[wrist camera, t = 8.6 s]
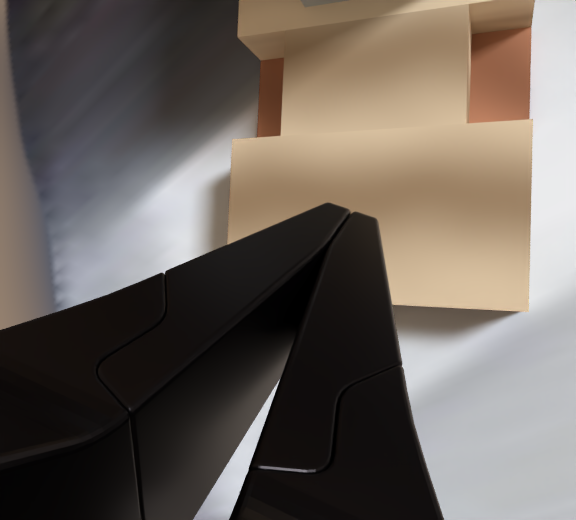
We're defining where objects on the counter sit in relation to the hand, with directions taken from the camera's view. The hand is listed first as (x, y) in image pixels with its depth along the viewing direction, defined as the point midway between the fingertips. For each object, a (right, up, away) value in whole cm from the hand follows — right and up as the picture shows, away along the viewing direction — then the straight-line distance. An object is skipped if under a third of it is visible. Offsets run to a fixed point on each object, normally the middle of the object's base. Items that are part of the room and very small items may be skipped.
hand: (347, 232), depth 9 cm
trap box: (+3, +6, +12) cm, 14 cm away
